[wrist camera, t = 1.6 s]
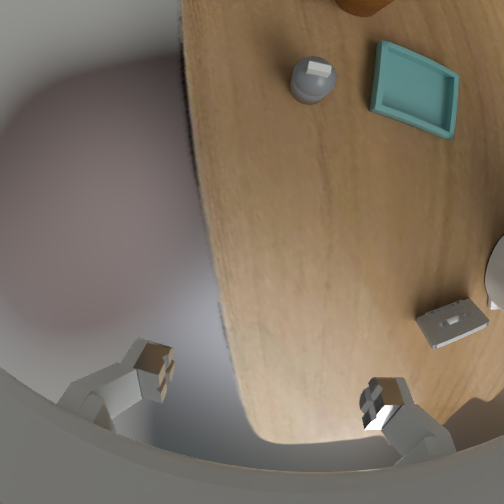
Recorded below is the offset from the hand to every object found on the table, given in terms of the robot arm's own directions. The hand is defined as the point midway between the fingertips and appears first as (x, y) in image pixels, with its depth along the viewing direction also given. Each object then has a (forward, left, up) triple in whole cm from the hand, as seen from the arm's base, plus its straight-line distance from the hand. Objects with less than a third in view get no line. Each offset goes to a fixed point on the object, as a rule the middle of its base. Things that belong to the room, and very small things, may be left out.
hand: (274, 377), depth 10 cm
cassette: (-32, +11, -28) cm, 44 cm away
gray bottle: (-1, -16, -27) cm, 32 cm away
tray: (-15, -20, -27) cm, 37 cm away
